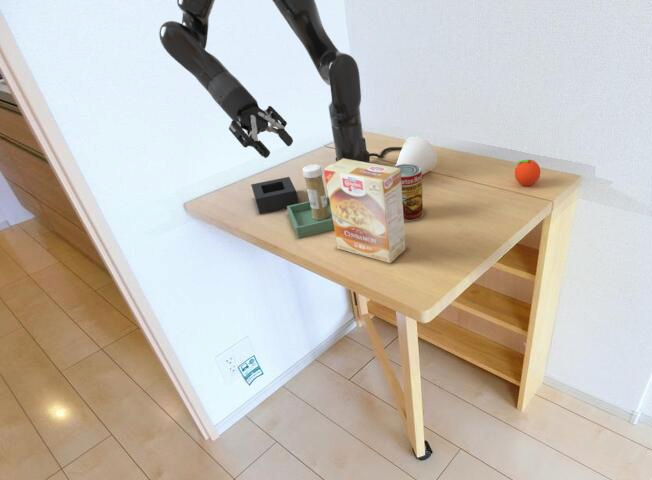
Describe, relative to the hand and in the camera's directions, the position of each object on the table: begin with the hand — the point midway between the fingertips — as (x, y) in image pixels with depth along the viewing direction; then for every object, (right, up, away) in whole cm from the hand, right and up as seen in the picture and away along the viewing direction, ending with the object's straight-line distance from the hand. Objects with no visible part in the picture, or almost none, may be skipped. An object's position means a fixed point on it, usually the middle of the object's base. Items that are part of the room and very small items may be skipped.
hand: (279, 149), depth 108 cm
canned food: (+32, -15, +6) cm, 36 cm away
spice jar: (+9, -16, +7) cm, 19 cm away
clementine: (+65, -5, +16) cm, 67 cm away
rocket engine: (+31, -1, +24) cm, 39 cm away
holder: (-6, -9, +17) cm, 20 cm away
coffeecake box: (+23, -26, -6) cm, 35 cm away
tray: (+9, -16, +7) cm, 20 cm away
